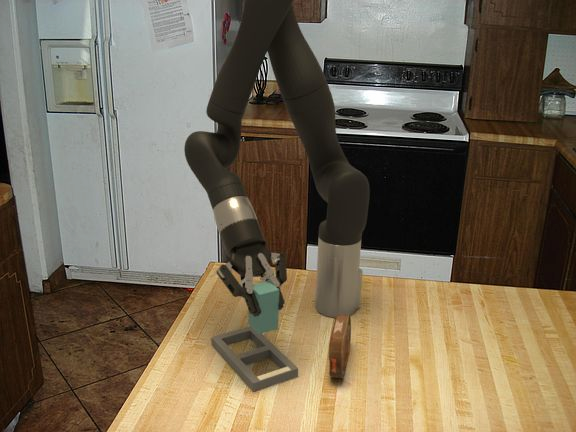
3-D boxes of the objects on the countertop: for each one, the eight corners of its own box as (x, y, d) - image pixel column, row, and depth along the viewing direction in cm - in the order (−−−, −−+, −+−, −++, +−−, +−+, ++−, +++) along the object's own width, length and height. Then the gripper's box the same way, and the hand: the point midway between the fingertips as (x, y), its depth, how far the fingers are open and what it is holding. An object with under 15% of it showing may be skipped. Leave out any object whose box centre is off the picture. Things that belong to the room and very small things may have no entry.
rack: (252, 332, 132) (253, 324, 131) (297, 376, 118) (298, 367, 117) (211, 344, 127) (211, 336, 127) (253, 391, 113) (253, 383, 113)
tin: (342, 388, 115) (345, 348, 112) (325, 385, 116) (327, 345, 113) (351, 343, 129) (354, 307, 126) (336, 341, 130) (338, 305, 127)
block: (267, 319, 119) (268, 280, 116) (278, 328, 116) (279, 289, 113) (248, 324, 117) (248, 285, 114) (258, 334, 114) (259, 294, 111)
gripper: (209, 224, 112) (240, 315, 106) (278, 211, 119) (311, 296, 114) (197, 240, 118) (226, 328, 113) (264, 228, 125) (294, 309, 120)
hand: (269, 311), depth 113 cm, fingers closed on block, 4 cm apart
